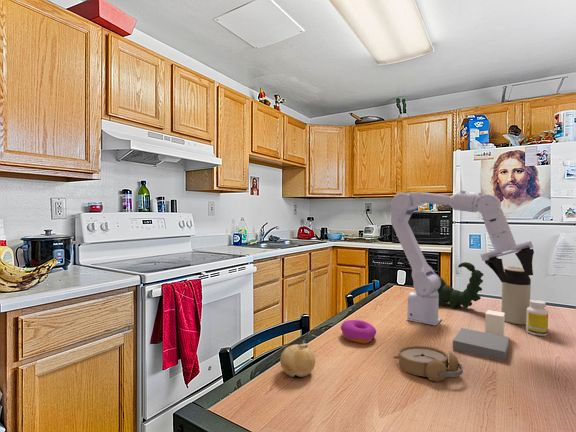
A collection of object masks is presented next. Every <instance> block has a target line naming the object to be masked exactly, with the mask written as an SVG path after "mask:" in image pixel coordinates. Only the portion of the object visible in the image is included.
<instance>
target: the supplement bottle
mask: <svg viewBox="0 0 576 432" xmlns="http://www.w3.org/2000/svg"><path fill="white" fill-rule="evenodd" d="M546 304H547V302H545V301H543V300H539V299H538V300H537V299H530V307H528V308H527V312H526V324H525V332H527V333H528V334H531V335H533V336H540V337H543V336H544V337H545V336H547V335H548V329H549V328H548V325H549V324H548V323H549V311H548V310H547V309H546V307H547V305H546Z"/></svg>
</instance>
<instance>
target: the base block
mask: <svg viewBox="0 0 576 432" xmlns="http://www.w3.org/2000/svg"><path fill="white" fill-rule="evenodd" d="M509 347H510V337H509V336H505V335H504V336H500V335H495V334H490V333H485V331H478V330H476V329H475V330H473V329H470V328H465V327H461V328H460V329H459V331H458V332H457V334H456V335H455V336H454V338H453V340H452V350H453V351H458V352H460V353H461V352H462V353H467V354H469V355H474V356H478V357H481V358H485V359H486V358H488V359H490V360H496V361H500V362H504V363H505V362H506V361H507V359H506V358H507V355H508V351H509Z"/></svg>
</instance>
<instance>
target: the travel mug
mask: <svg viewBox="0 0 576 432" xmlns="http://www.w3.org/2000/svg"><path fill="white" fill-rule="evenodd" d="M503 268H504V272H505V274H506V277H507V280H508V282H501V310H500V312H503V313H505V322H506V323H509V324H513V325H519V326H520V325H522V326H523V325H526V312H527V308H528V307H530V300H531V287H532V286H531V285H532V284H531V282H532V281H531V280H532V279H531V277H530V275H526V274H525V272H524V269H523V267H522V266H514V265H513V266H509V265H508V266H506V265H505V266H503Z"/></svg>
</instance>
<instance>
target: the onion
mask: <svg viewBox="0 0 576 432" xmlns="http://www.w3.org/2000/svg"><path fill="white" fill-rule="evenodd" d="M279 358H280V359H279V363H280V367H281V369H282V370H283V372H284V373H285V374H287V376H289V377H291V378H296V376H297V377H298V378H299V377H300V378H304V377H307V376H308V375H309V374H311V373H312V371H313V370H314V368H315V365H316V357H315V354H314V353H313V351H312V350H311V348H309V344H308V343H305V340H302V343H300V344H297V343H296V344H295V343H294V344H292V345H289V346H286V347H285V349H284V350H283V351H282V352H281V354H280V357H279Z"/></svg>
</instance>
